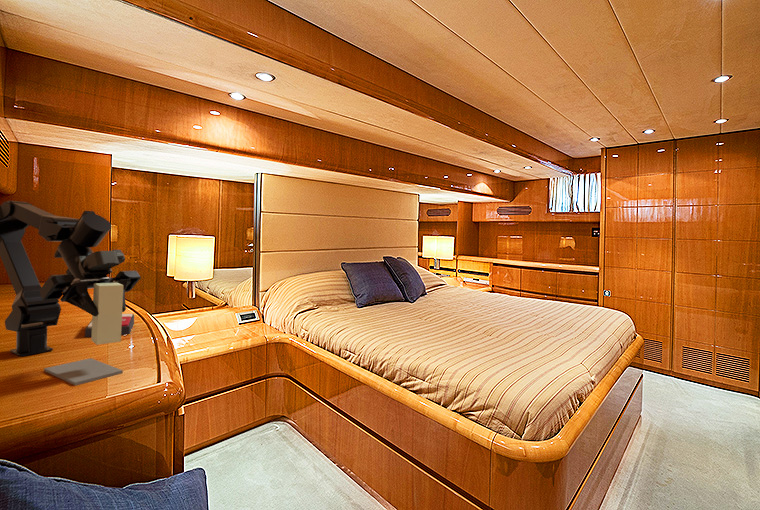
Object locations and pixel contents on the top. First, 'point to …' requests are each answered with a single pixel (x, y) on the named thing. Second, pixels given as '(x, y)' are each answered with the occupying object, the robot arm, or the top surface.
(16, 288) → the robot arm
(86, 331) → the black red white box
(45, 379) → the top surface
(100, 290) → the block
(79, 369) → the mat
